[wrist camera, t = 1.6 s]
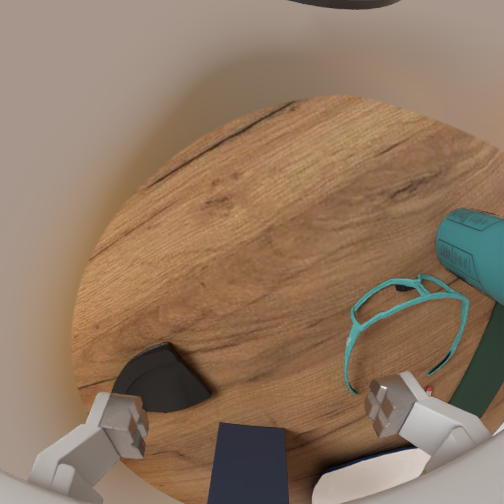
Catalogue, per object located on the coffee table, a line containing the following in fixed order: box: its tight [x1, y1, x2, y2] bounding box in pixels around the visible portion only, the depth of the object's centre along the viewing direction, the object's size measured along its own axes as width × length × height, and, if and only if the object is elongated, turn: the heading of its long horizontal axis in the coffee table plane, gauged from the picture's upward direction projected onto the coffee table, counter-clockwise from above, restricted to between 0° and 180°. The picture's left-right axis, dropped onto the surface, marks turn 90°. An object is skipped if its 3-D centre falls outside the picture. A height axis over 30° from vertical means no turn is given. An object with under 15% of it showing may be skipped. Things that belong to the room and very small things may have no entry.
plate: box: [312, 446, 431, 504], centre depth 34 cm, size 20×20×3 cm
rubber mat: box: [448, 301, 504, 419], centre depth 29 cm, size 26×12×1 cm, turn 173°
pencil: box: [426, 386, 432, 397], centre depth 30 cm, size 1×8×1 cm, turn 10°
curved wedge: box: [112, 342, 212, 413], centre depth 29 cm, size 8×14×2 cm, turn 120°
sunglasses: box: [344, 274, 470, 396], centre depth 26 cm, size 14×15×5 cm
